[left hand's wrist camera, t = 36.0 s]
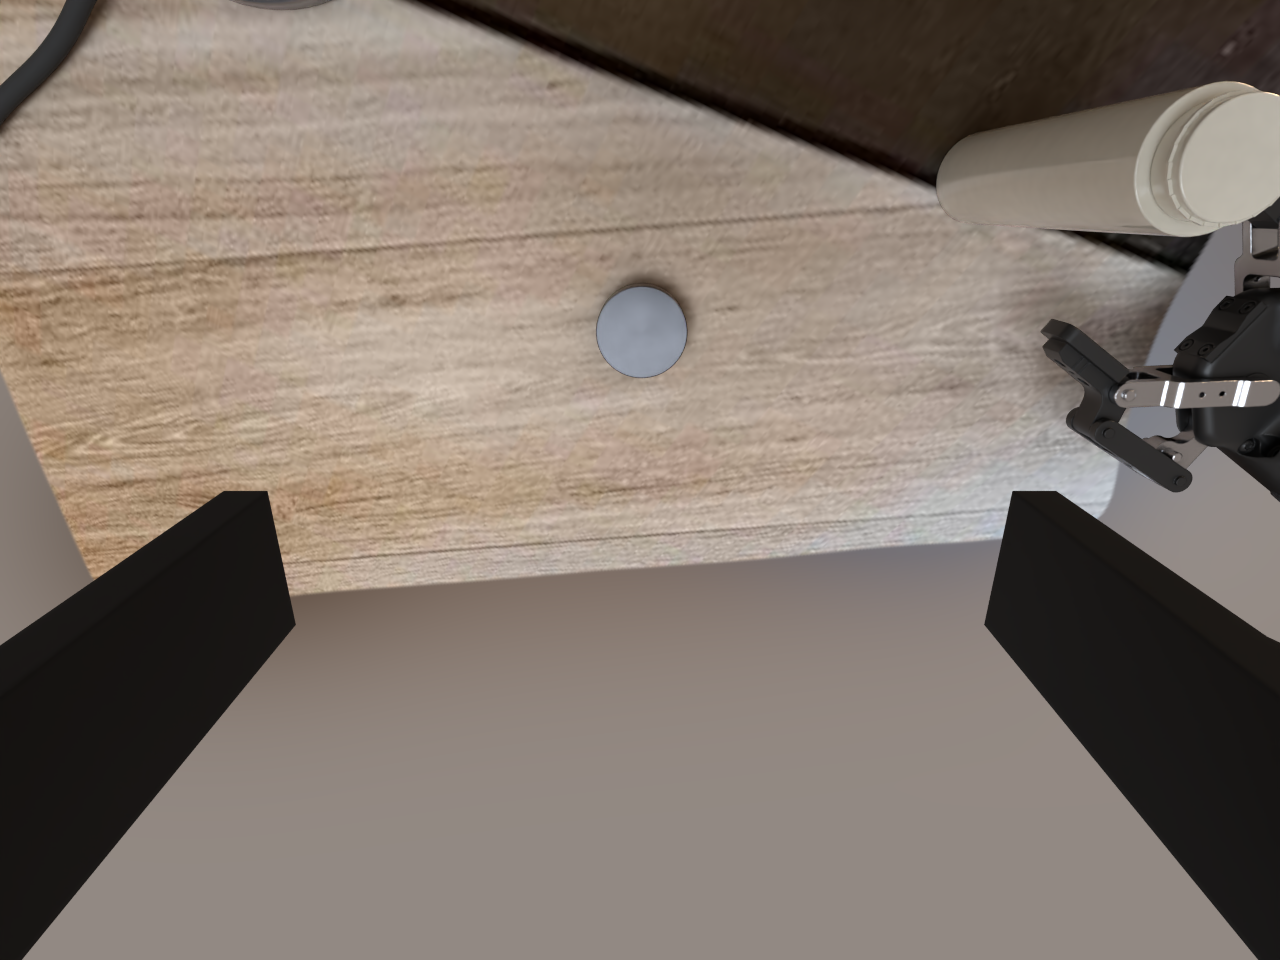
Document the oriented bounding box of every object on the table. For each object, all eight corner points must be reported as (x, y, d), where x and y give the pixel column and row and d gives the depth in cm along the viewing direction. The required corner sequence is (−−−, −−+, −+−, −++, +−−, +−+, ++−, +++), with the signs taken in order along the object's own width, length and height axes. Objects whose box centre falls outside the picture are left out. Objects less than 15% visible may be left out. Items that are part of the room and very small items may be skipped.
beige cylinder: (920, 205, 36) (1133, 207, 21) (963, 117, 35) (1227, 47, 19) (993, 236, 37) (1255, 260, 21) (1038, 151, 35) (1356, 109, 20)
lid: (601, 374, 39) (599, 380, 38) (594, 285, 38) (592, 288, 36) (686, 369, 39) (688, 375, 38) (684, 280, 38) (685, 283, 36)
